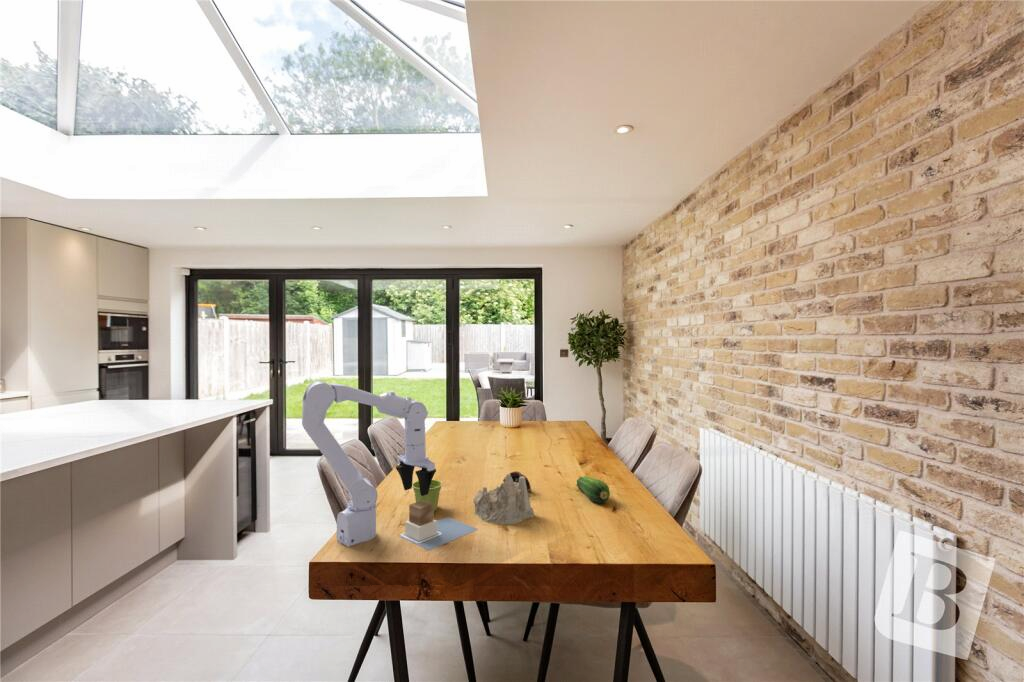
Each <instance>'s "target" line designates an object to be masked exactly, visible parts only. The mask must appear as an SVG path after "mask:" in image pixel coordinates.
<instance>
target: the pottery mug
mask: <svg viewBox="0 0 1024 682" xmlns="http://www.w3.org/2000/svg"><path fill="white" fill-rule="evenodd" d="M508 474H511V477H512V479H513V482H516V483H519V478H520V477H521V476H523V477H525V481H526V486H527V490H528V491H529V493H530V492H531V493H532V486H531V484H530V481H529V478H528V477H527V476H526V475H524V474H522V472H520V471H516V470H515V471H512V472H509V473H508ZM505 478H506V476H505V477H504V478H503V480H502V481H503V483H505Z"/></svg>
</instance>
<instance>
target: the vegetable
mask: <svg viewBox="0 0 1024 682" xmlns="http://www.w3.org/2000/svg"><path fill="white" fill-rule="evenodd" d="M576 487H577V488H578V490H579V491H581V492H582V491H583V492H582V493H584V495H585V496H586V497H587V498H588V499H589V500H591V501H592V502H594V503H597V504H602V503H603V504H604V503H605V502H607V500H609V498H610V496H611V492H610V487H609V486H608V484H607V483H605V482H604V481H603V480H601V479H599V478H594V477H589V476H586V475H585V476H579V478H578V479H577V480H576Z"/></svg>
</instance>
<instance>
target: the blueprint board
mask: <svg viewBox="0 0 1024 682" xmlns="http://www.w3.org/2000/svg"><path fill="white" fill-rule="evenodd" d="M477 530H478V527H477V528H476V527H474V526H471V525H468V524H466V523H463V522H461V521H458V520H456V519H453V518H450V517H448V516H446V517H443V518H441V519H439V520H437V534H436V535H433V536H431V537H428V538H426V539H424V540H421V541H417V540H415V539H413V538H411V537H409V536H406V535H405V532H404V533H401V534H399V535H398V537H400V538H401V539H404V540H406V541H408V542H410V543H412V544H414V545H417V546H418V547H421V548H423V549H425V550H427V551H432V550H433V549H434V550H435V549H436V548H439V547H440V546H442V545H445V544H447V543H449V542H452V541H454V540H457V539H458V538H461V537H463V536H466V535H469V534H471V533H473V532H474V531H477Z"/></svg>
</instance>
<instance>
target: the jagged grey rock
mask: <svg viewBox="0 0 1024 682" xmlns="http://www.w3.org/2000/svg"><path fill="white" fill-rule="evenodd" d="M505 477H506V478H505ZM505 477H504V478H505V483H504V482H503V483H502V482H501V484H500V486H496V487H495V488H494V489H490V490H489V491H488V488H487V487H486V486H483V487H482V489H480V490H478V492H477V493H476V495H475V497H474V499H473V501H472V502H473V504H474V510H475V511H474V515H476V516H477V517H478V518H479V519H481V520H482V521H483V522H485V523H490V524H491V523H492V524H496V525H513V524H518V523H521V522H523V520H527V519H530V518H533V519H534V518H535V512H534V508H533V507H532V505H531V500H530V498H531V495H530V494H531V493H530V492H529V490H528V489H527V486H526V481H525V477H523V476H521V477H520V478H519V483H516V482H513V479H512V477H511V474H509V473H506V476H505Z"/></svg>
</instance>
